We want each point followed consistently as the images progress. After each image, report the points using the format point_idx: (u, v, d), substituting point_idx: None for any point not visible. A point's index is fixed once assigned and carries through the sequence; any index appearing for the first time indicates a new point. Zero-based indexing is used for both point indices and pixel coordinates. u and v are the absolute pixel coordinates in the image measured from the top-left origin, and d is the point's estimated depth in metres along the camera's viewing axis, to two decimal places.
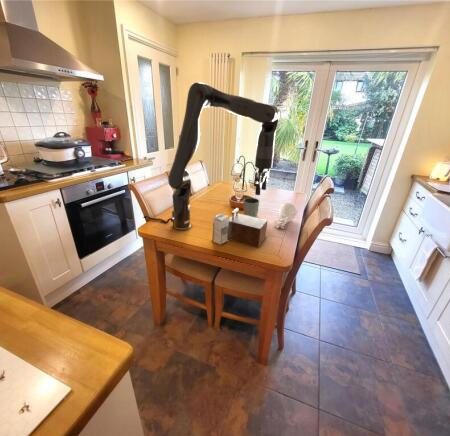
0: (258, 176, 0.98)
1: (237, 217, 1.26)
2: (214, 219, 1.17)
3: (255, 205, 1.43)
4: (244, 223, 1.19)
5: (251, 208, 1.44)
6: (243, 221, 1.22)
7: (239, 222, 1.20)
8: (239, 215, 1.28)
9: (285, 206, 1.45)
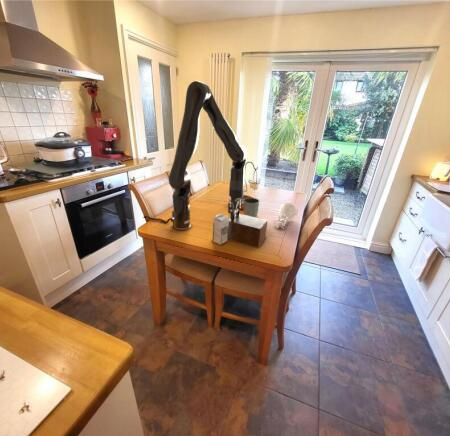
0: (231, 206, 1.16)
1: (237, 217, 1.26)
2: (214, 219, 1.17)
3: (255, 205, 1.43)
4: (244, 223, 1.19)
5: (251, 208, 1.44)
6: (243, 221, 1.22)
7: (239, 222, 1.20)
8: (239, 215, 1.28)
9: (285, 206, 1.45)
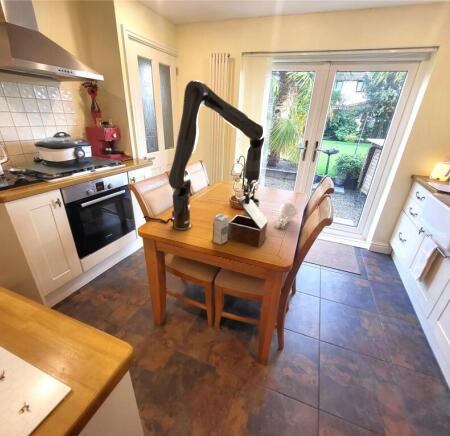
0: (246, 188, 1.09)
1: None
2: (214, 219, 1.17)
3: None
4: (250, 213, 1.16)
5: None
6: (250, 209, 1.17)
7: (247, 209, 1.15)
8: None
9: (285, 206, 1.45)
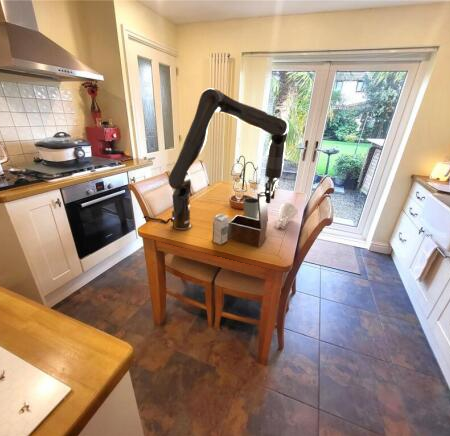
0: (268, 186, 1.04)
1: None
2: (214, 219, 1.17)
3: (255, 205, 1.43)
4: (261, 210, 1.13)
5: (251, 208, 1.44)
6: (262, 206, 1.14)
7: (260, 205, 1.11)
8: None
9: (285, 206, 1.45)
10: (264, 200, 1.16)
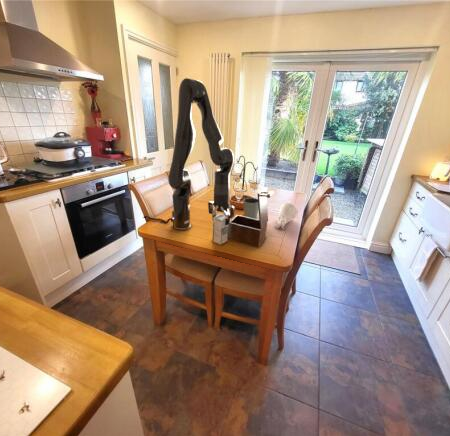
0: None
1: None
2: (214, 219, 1.17)
3: (255, 205, 1.43)
4: (261, 210, 1.13)
5: (251, 208, 1.44)
6: (262, 206, 1.14)
7: (260, 205, 1.11)
8: (265, 194, 1.17)
9: (285, 206, 1.45)
10: (264, 200, 1.16)
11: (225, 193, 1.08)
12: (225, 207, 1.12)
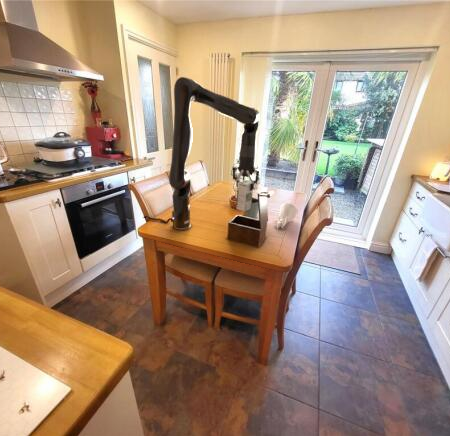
0: None
1: None
2: (238, 184, 1.14)
3: (255, 205, 1.43)
4: (261, 210, 1.13)
5: (251, 208, 1.44)
6: (262, 206, 1.14)
7: (260, 205, 1.11)
8: (265, 194, 1.17)
9: (285, 206, 1.45)
10: (264, 200, 1.16)
11: (252, 155, 1.06)
12: (251, 171, 1.10)
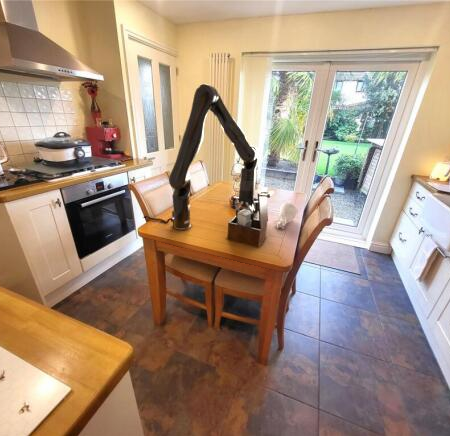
0: None
1: None
2: (238, 214, 1.21)
3: None
4: (261, 210, 1.13)
5: None
6: (262, 206, 1.14)
7: (260, 205, 1.11)
8: (265, 194, 1.17)
9: (285, 206, 1.45)
10: (264, 200, 1.16)
11: (251, 189, 1.13)
12: (250, 202, 1.17)
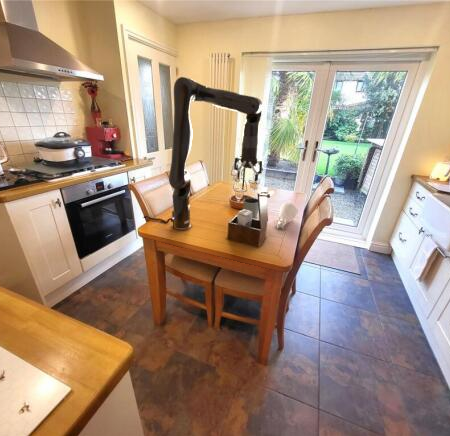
0: None
1: None
2: (238, 214, 1.21)
3: (255, 205, 1.43)
4: (261, 210, 1.13)
5: (251, 208, 1.44)
6: (262, 206, 1.14)
7: (260, 205, 1.11)
8: (265, 194, 1.17)
9: (285, 206, 1.45)
10: (264, 200, 1.16)
11: (254, 146, 1.04)
12: (253, 162, 1.08)
